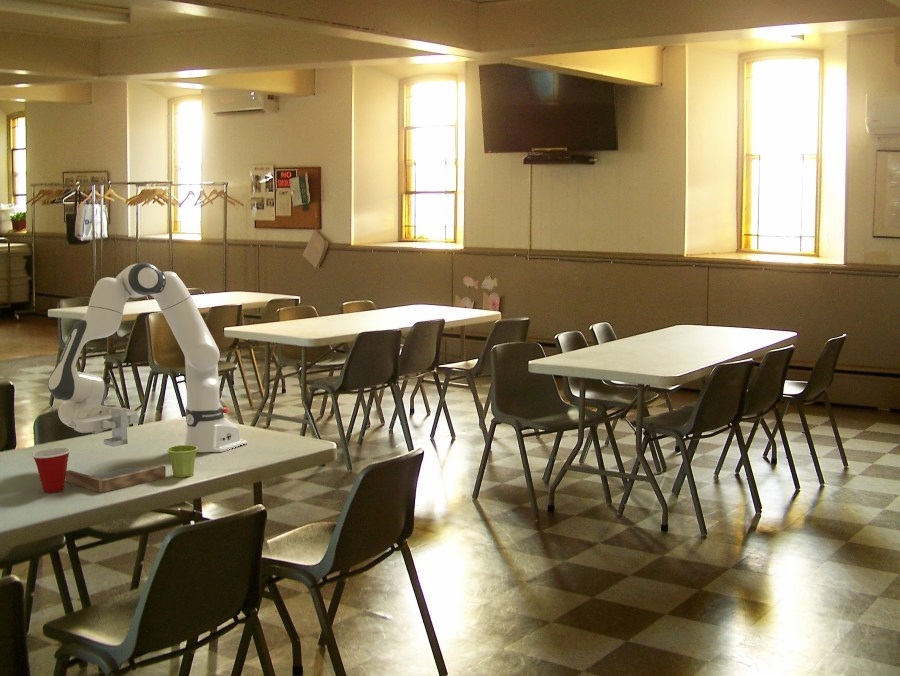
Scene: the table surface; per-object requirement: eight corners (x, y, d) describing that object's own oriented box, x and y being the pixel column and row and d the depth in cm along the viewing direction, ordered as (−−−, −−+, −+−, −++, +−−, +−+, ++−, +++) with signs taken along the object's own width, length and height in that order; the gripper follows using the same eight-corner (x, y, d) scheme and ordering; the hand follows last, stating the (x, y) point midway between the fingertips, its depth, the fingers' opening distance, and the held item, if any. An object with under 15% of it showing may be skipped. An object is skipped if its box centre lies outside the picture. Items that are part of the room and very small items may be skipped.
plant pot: (190, 480, 333) (190, 452, 332) (162, 478, 335) (161, 451, 334) (203, 472, 342) (202, 445, 341) (176, 471, 344) (175, 444, 343)
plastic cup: (39, 486, 325) (37, 447, 324) (76, 485, 326) (74, 446, 325) (28, 495, 314) (26, 455, 313) (66, 495, 315) (64, 454, 314)
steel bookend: (117, 441, 337) (116, 406, 335) (127, 443, 334) (126, 408, 332) (104, 444, 333) (102, 409, 331) (113, 446, 330) (112, 411, 328)
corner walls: (129, 467, 347) (128, 457, 347) (165, 477, 336) (165, 466, 335) (65, 482, 329) (65, 471, 329) (102, 492, 318) (101, 481, 317)
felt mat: (128, 468, 347) (128, 467, 346) (159, 476, 337) (159, 475, 337) (73, 481, 331) (73, 479, 331) (104, 489, 321) (104, 488, 321)
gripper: (65, 414, 333) (90, 419, 325) (121, 404, 349) (148, 409, 340) (66, 434, 334) (91, 440, 325) (122, 423, 350) (148, 429, 341)
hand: (121, 424), depth 333 cm, fingers closed on steel bookend
